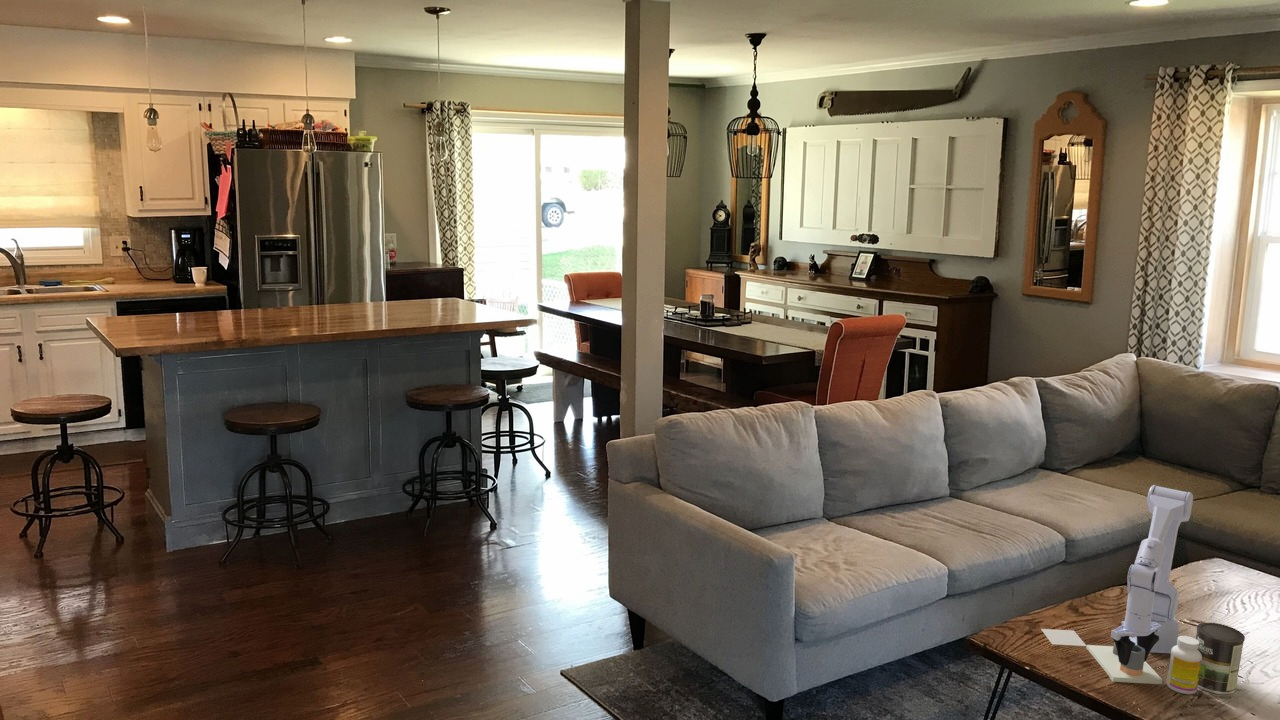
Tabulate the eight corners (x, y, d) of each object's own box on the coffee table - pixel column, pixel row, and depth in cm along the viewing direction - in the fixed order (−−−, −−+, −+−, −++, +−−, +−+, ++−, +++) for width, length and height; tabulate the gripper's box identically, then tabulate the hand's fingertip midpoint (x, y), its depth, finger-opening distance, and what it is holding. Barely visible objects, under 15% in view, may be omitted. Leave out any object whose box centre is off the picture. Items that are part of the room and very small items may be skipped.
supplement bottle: (1200, 697, 241) (1208, 648, 238) (1171, 693, 242) (1178, 644, 240) (1191, 683, 247) (1198, 635, 245) (1162, 680, 248) (1169, 632, 246)
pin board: (1132, 651, 263) (1134, 633, 262) (1162, 684, 246) (1164, 665, 245) (1086, 649, 263) (1088, 631, 262) (1112, 681, 247) (1115, 663, 246)
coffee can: (1206, 695, 242) (1214, 641, 239) (1180, 674, 252) (1187, 622, 249) (1246, 694, 243) (1254, 641, 240) (1218, 673, 253) (1226, 622, 250)
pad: (1073, 631, 273) (1074, 630, 273) (1086, 647, 264) (1086, 646, 264) (1040, 630, 274) (1040, 628, 274) (1052, 645, 265) (1052, 644, 265)
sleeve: (1130, 664, 253) (1133, 642, 252) (1146, 673, 249) (1149, 651, 248) (1115, 667, 252) (1118, 645, 250) (1131, 676, 247) (1134, 654, 246)
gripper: (1147, 600, 253) (1140, 650, 256) (1104, 608, 248) (1097, 658, 251) (1171, 612, 247) (1163, 663, 250) (1126, 620, 242) (1119, 671, 244)
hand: (1132, 661), depth 250 cm, fingers open, 5 cm apart
